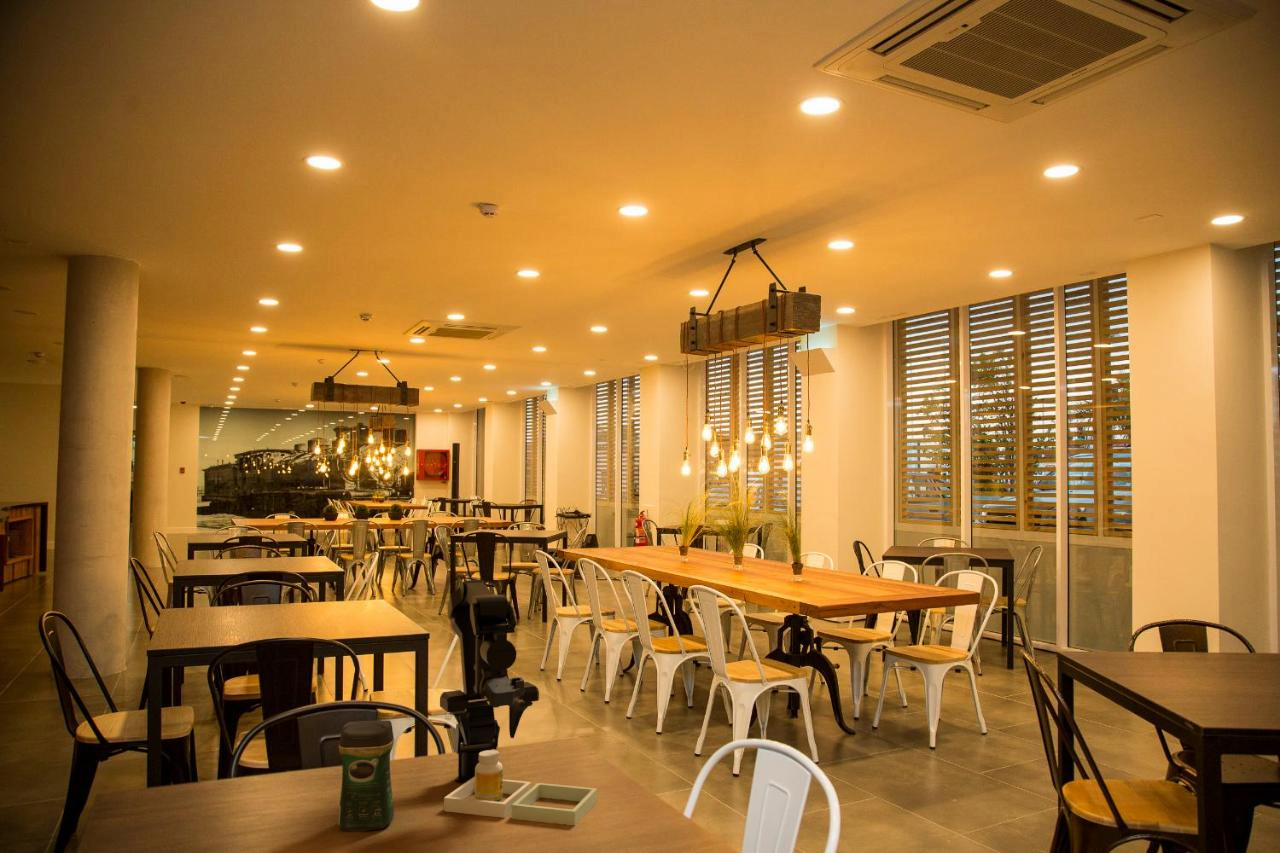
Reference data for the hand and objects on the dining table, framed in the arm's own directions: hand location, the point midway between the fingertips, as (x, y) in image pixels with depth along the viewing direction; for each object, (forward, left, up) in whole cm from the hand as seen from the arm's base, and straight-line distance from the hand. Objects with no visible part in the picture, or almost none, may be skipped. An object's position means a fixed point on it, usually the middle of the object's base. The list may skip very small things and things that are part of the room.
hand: (489, 741), depth 175 cm
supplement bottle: (0, 0, -12) cm, 12 cm away
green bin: (+14, 0, -12) cm, 18 cm away
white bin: (0, 0, -12) cm, 12 cm away
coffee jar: (-17, -16, -12) cm, 26 cm away
